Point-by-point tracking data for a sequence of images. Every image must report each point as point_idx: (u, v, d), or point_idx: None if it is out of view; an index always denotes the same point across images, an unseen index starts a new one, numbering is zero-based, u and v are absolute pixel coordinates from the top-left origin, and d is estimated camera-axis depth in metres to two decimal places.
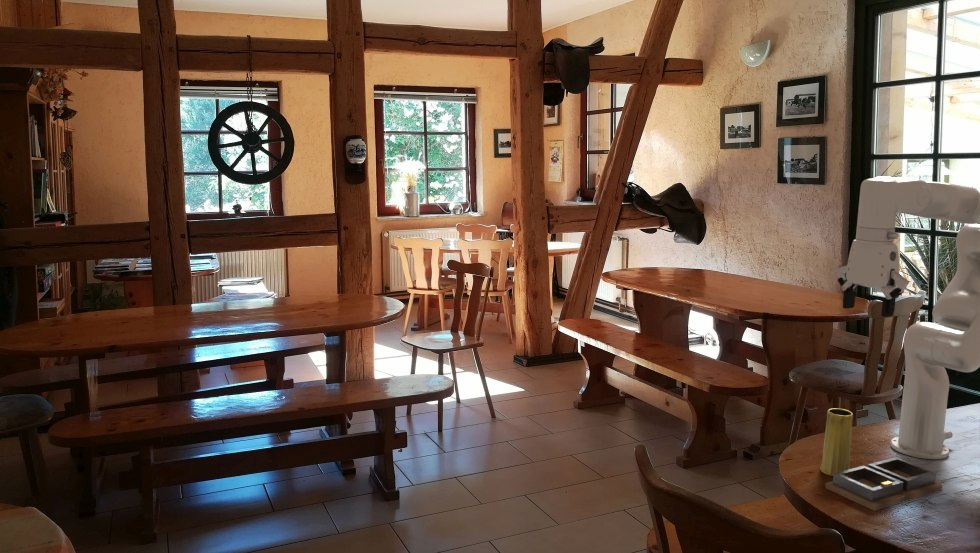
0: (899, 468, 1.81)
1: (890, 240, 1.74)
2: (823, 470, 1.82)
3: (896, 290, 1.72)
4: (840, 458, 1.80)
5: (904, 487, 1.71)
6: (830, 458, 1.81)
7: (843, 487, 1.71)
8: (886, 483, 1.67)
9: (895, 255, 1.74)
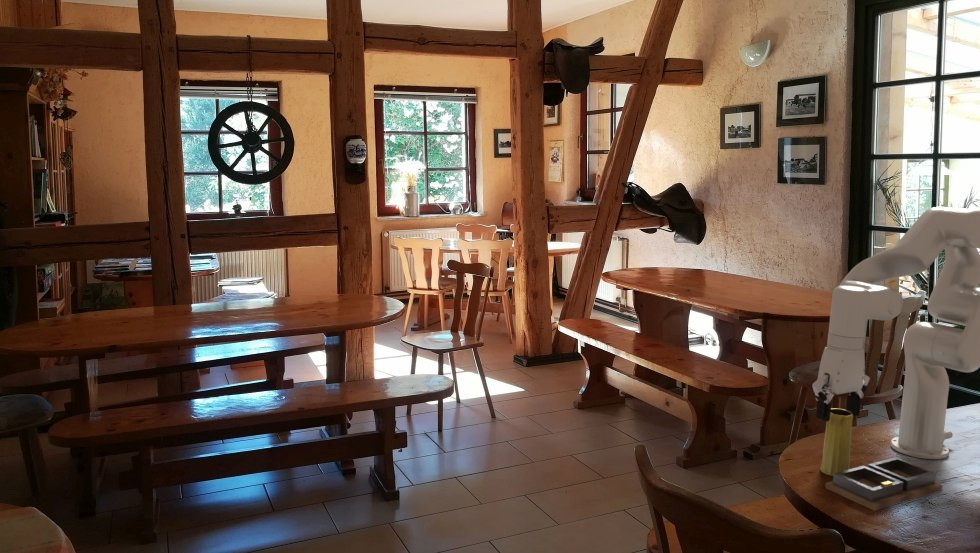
0: (899, 468, 1.81)
1: None
2: (823, 470, 1.82)
3: (865, 387, 1.82)
4: (840, 458, 1.80)
5: (904, 487, 1.71)
6: (830, 458, 1.81)
7: (843, 487, 1.71)
8: (886, 483, 1.67)
9: None
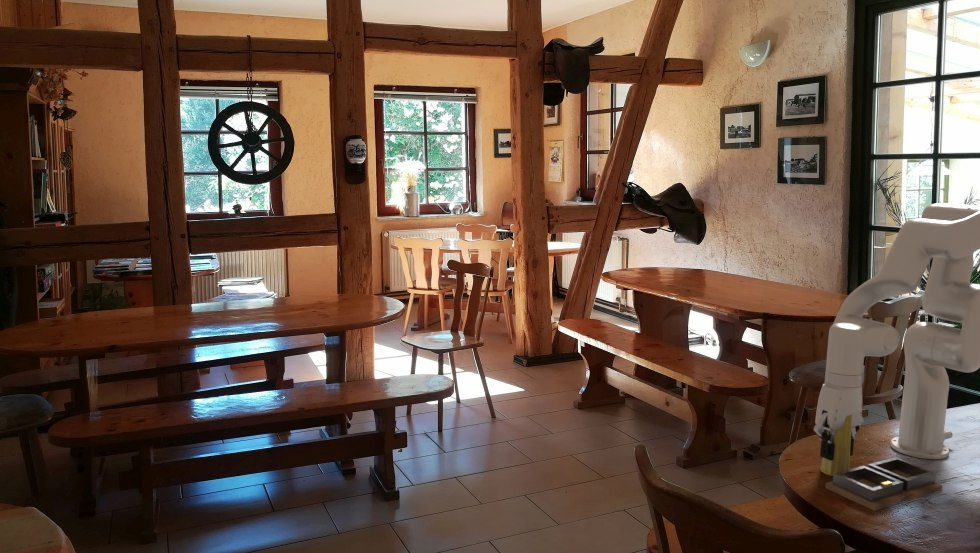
0: (899, 468, 1.81)
1: None
2: (823, 470, 1.82)
3: (858, 427, 1.83)
4: (840, 458, 1.80)
5: (904, 487, 1.71)
6: None
7: (843, 487, 1.71)
8: (886, 483, 1.67)
9: None
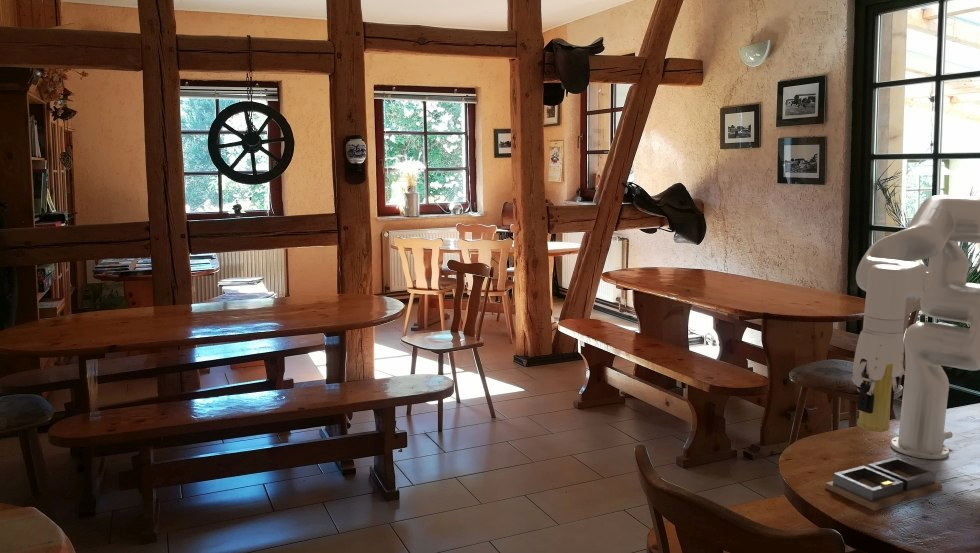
0: (899, 468, 1.81)
1: None
2: (861, 425, 1.69)
3: (898, 378, 1.69)
4: (879, 411, 1.66)
5: (904, 487, 1.71)
6: None
7: (843, 487, 1.71)
8: (886, 483, 1.67)
9: None
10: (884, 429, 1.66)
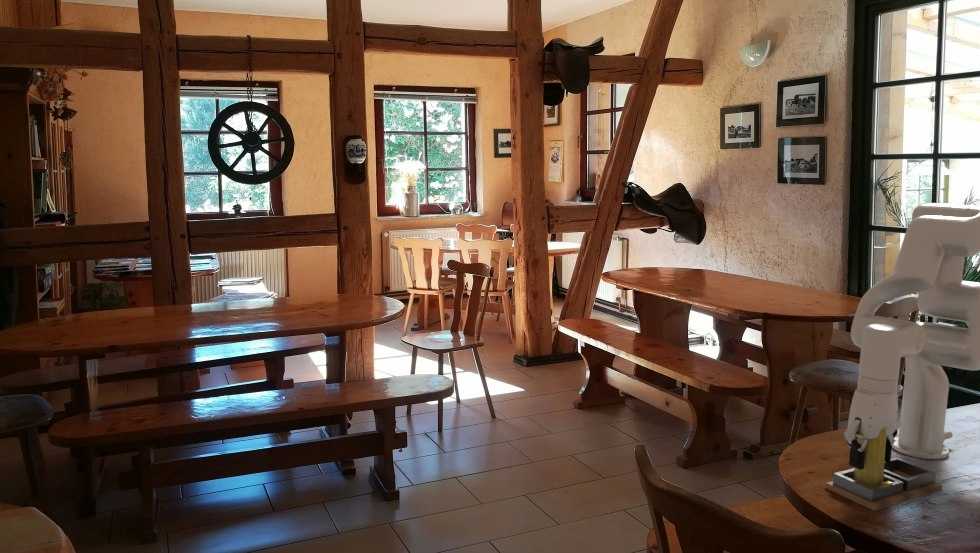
0: (899, 468, 1.81)
1: None
2: None
3: (896, 432, 1.72)
4: (873, 473, 1.68)
5: (904, 487, 1.71)
6: (862, 473, 1.69)
7: (843, 487, 1.71)
8: (886, 483, 1.67)
9: None
10: None
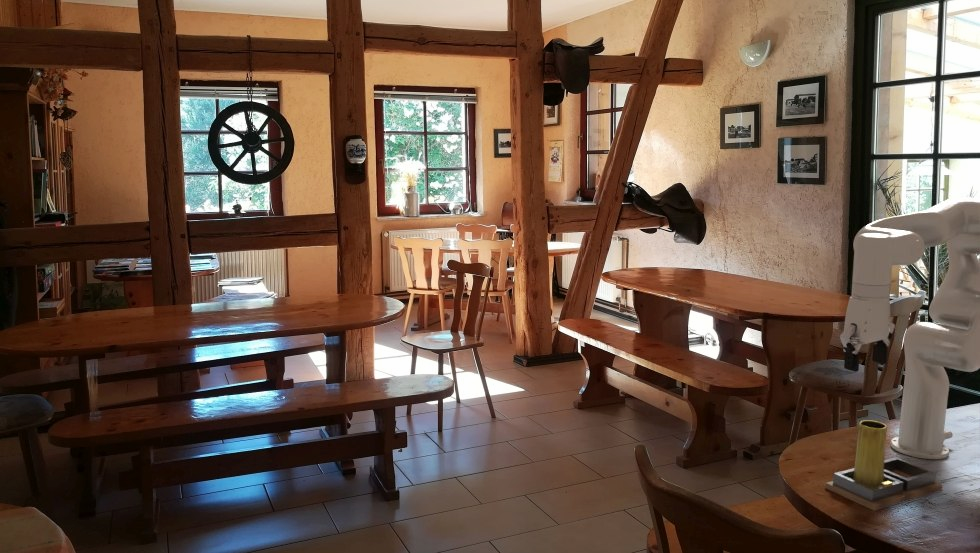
0: (899, 468, 1.81)
1: None
2: None
3: (891, 335, 1.80)
4: (873, 473, 1.68)
5: (904, 487, 1.71)
6: (862, 473, 1.69)
7: (843, 487, 1.71)
8: (886, 483, 1.67)
9: None
10: None
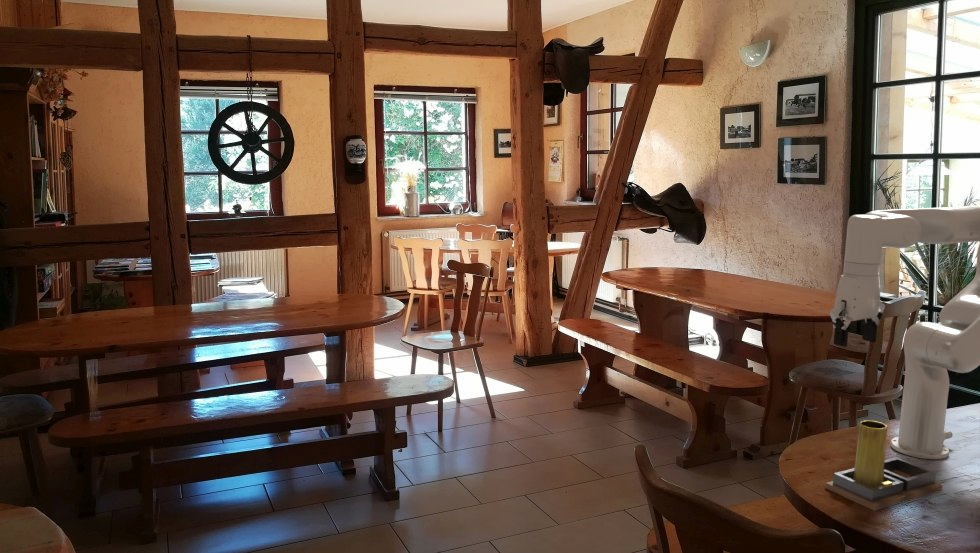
0: (899, 468, 1.81)
1: None
2: None
3: (881, 314, 1.87)
4: (873, 473, 1.68)
5: (904, 487, 1.71)
6: (862, 473, 1.69)
7: (843, 487, 1.71)
8: (886, 483, 1.67)
9: None
10: None
